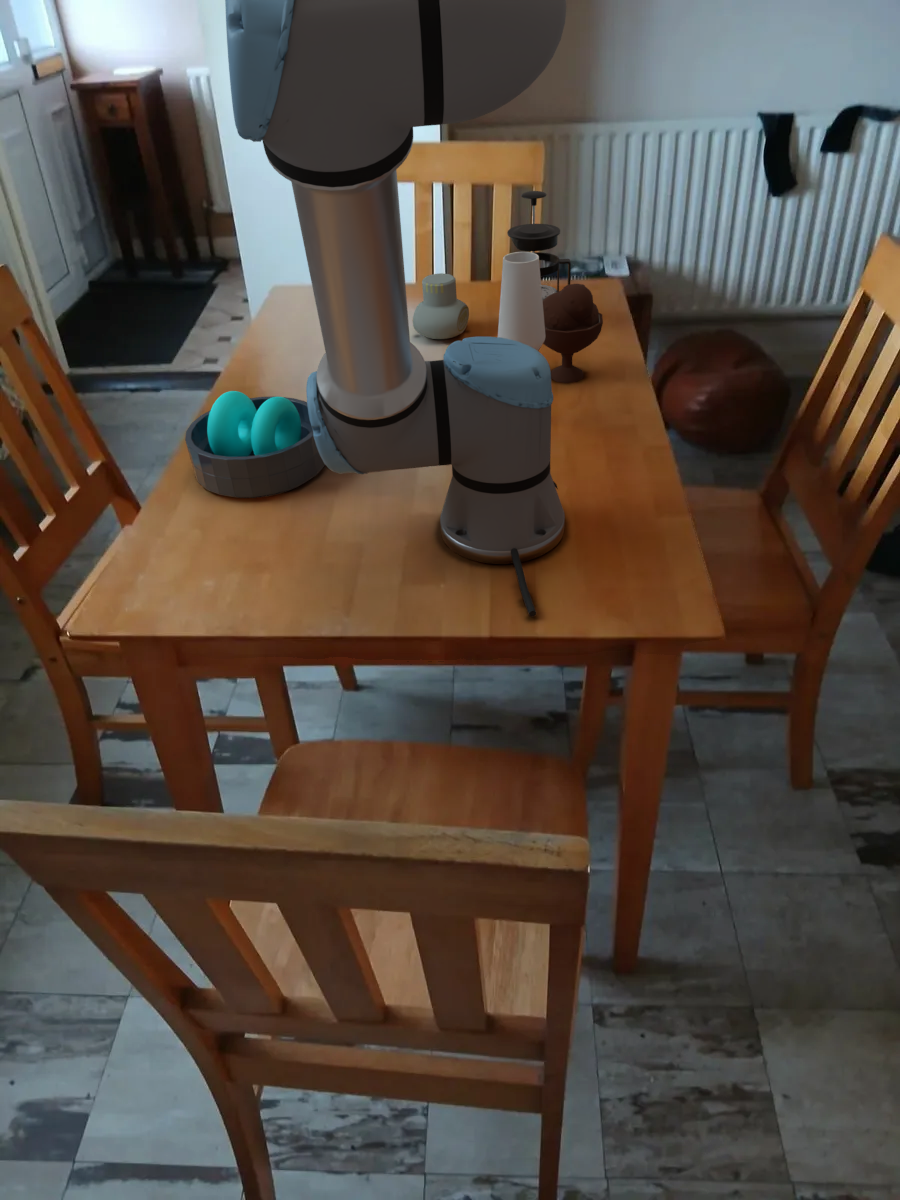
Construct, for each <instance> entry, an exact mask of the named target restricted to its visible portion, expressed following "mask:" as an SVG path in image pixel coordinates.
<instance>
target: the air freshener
mask: <svg viewBox="0 0 900 1200" xmlns="http://www.w3.org/2000/svg"><path fill="white" fill-rule="evenodd" d="M456 281H457V280H456V277H454V275H452V274H451V273H443V272H441V273H433V274H428V275H427V276H425V277H424V278H423V279H422V281H421V283H422V284H421V286H422V299H423V300H422V301H421V302H419V303H418V304H417V306H416V307H415V309H414V312H413V316H412V327H413V329H414V330H415V331H416V332H417V333H418V334H419V335H421V336H423V337H425V338H428V339H431V340H448V339H453V338H456V337H458V336H459V335H461V334H462V333H464V331H465V330H466V328H467V326H468V322H469V318H470V309H469V306H468V305H467V304H466V303H465V302H464V301H462V300H461V299H459V298H457V282H456Z"/></svg>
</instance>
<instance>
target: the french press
mask: <svg viewBox="0 0 900 1200" xmlns="http://www.w3.org/2000/svg"><path fill="white" fill-rule="evenodd" d="M547 195H548V194H547V193H546V192H545V191H541V190H529V191H526V192H523V193H521V195H520V196H521V198H523V199H527V200H530V205H531V206H532V223H526V224H520V225H516V226H513V227H511V228H509V229H508V230H507V233H506V234H507V236H508V238H510V239H511V241H512V243H513V245H514V246H515V248H516V249H517V250H519V251H520V252H531V253H535V254H537V255H538V256H539V261H546V262H550V263H553V264H552V265H547V266H544V267H540V277H545V276H548V275H551V274H554V273H557V275H556V276H557V278H556V280H557V281H556V288H555V287H553V286H550V285H546V284H541V289H542V301H543V300H544V299H545V298H546V297H547V296H549V295H551V294H553V293H556V292H559V291H560V265H565V264H567V285H569V284H571V278H572V277H571V276H572V275H571V273H572V272H571V271H572V262H571V259H570V258H560V257H559V256H557V255H555V254H552V253H549V252H541V251H547V250H551V249H554V248H555V247H556V246H557V245H558V236H560V234H561V229H560V227H558V226H556V225H553V224H548V223H536V206H537V205H538V204H537V203H538V202H537V201H538V199H543V198H545V197H546V196H547Z"/></svg>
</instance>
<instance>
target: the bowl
mask: <svg viewBox="0 0 900 1200" xmlns="http://www.w3.org/2000/svg"><path fill="white" fill-rule="evenodd" d="M272 397H277V396H276V395H275V396H257V397H249V398H250V399H251V401H252V402H253V404H254V405H255V408H256V410H258V409H259V407H260V406H261V405H262V404H263V403H264V402H265V401H266V400H268V399H270V398H272ZM283 397H284V398H286V399H288V400H290V401H291V402H292V403H293V404H294V406H295V407H296V409H297V411H298V413H299V416H300V421H301V440H300V441H298V442H297V443H295V444H293V445H291V446H288V447H286V448H284V449H281V450H278V451H274V452H270V453H266V454H262V455H255V454H254V451H253V450H252V452H251V453H250V455H249V456H247V457H227V456H219V455H215V454H214V453H213V451H212V449H211V447H210V444H209V441H208V434H207V424H208V417H209V414H210V411H211V409H210V410H208V411H206V412H204V413H202V414H200V415H199V416H198V417H197V418H196V419H195V420H193V421H192V422H191V423H190V425H189V427H187V429H186V430H185V438H184V440H185V444H186V447H187V448H186V449H187V452H188V455H189V460H190V463H191V467H192V470H193V475H194V478H195V479H196V481H197V483H198V485H200V486H201V487H203V488H204V489H205V490H207V491H209V492H211V493H214V494H217V495H220V496H224V497H230V498H237V499H258V498H266V497H271V496H276V495H280V494H283V493H286V492H289V491H293V490H295V489H296V488H299V487H300V486H302V485H305V483H307V482H309V481H310V480H312V479H313V478H315V477H316V476H317V475H318V474H319V473H320V472H321V471H322V470H323V469H324V468H325V466H326V465H325V463H324V462H323V460H322V458H321V456H320V454H319V452H318V449H317V446H316V443H315V440H314V436H313V429H312V426H311V423H310V419H309V413H308V406H307V401H305V400H301V399H298V398H293V397H288V396H283Z"/></svg>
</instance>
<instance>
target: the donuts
mask: <svg viewBox="0 0 900 1200" xmlns="http://www.w3.org/2000/svg"><path fill="white" fill-rule="evenodd" d="M271 397H272V398H270V399H268V400H266V401H265V402H264V403H263V404H262V405H261V406H260V407H259V409H258V410H256V408H255V405H254V404H253V402H252V401H251V399H250V398H251V397H249V396H248V395H247V394H245V393H244V392H242V391H238V390H229V391H226V392H224V393H222V394H221V395H219V396H218V397H217V399H216V400H215V401H214V403H213V404H212V406H211V409H210V410H211V411H210V410H209V411H210V414H209V417H208V424H207V434H208V441H209V444H210V447H211V449H212V451H213V453H214V454H215V455H219V456H227V457H247V456H249V455H250V453H251V452H252V450H253V451H254V454H255V455H262V454H266V453H270V452H274V451H278V450H281V449H284V448H286V447H288V446H291V445H293V444H295V443H297V442H298V441H300V440H301V421H300V416H299V413H298V411H297V409H296V407H295V406H294V404H293V403H292V402H291V401H290V400H288V399H286V398H284V397H285V396H280V395H279V396H277V397H274V396H271Z"/></svg>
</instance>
